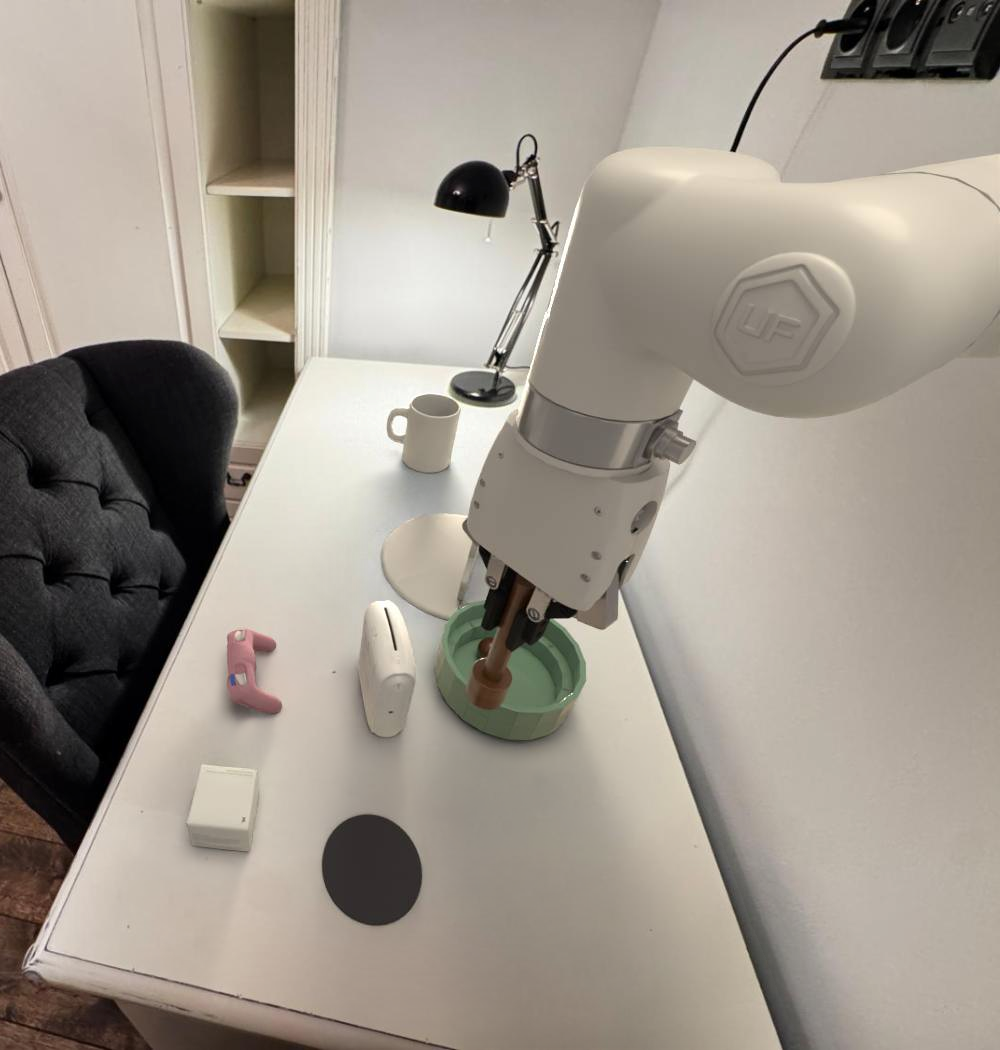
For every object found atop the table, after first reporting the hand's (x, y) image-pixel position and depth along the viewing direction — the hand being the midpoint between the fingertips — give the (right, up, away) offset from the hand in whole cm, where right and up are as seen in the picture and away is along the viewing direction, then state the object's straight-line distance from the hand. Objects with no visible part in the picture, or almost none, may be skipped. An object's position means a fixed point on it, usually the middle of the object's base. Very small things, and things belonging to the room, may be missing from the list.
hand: (509, 629), depth 43 cm
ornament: (+3, +3, +40) cm, 40 cm away
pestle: (0, -7, +6) cm, 9 cm away
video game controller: (-21, -11, +24) cm, 33 cm away
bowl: (+8, -11, +23) cm, 27 cm away
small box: (-23, -21, +12) cm, 33 cm away
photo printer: (-7, -12, +22) cm, 26 cm away
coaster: (-9, -23, +8) cm, 26 cm away
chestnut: (+7, -7, +24) cm, 26 cm away
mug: (+5, +20, +59) cm, 63 cm away
